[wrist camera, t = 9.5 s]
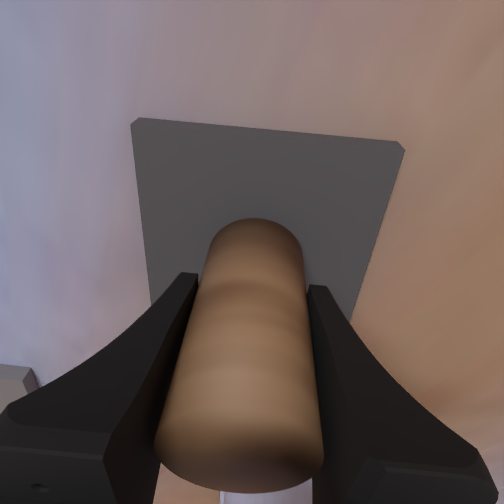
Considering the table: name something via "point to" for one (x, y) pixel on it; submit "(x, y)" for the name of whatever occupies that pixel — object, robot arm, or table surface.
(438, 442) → the robot arm
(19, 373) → the tile
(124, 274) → the table surface
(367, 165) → the mat
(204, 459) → the peg
